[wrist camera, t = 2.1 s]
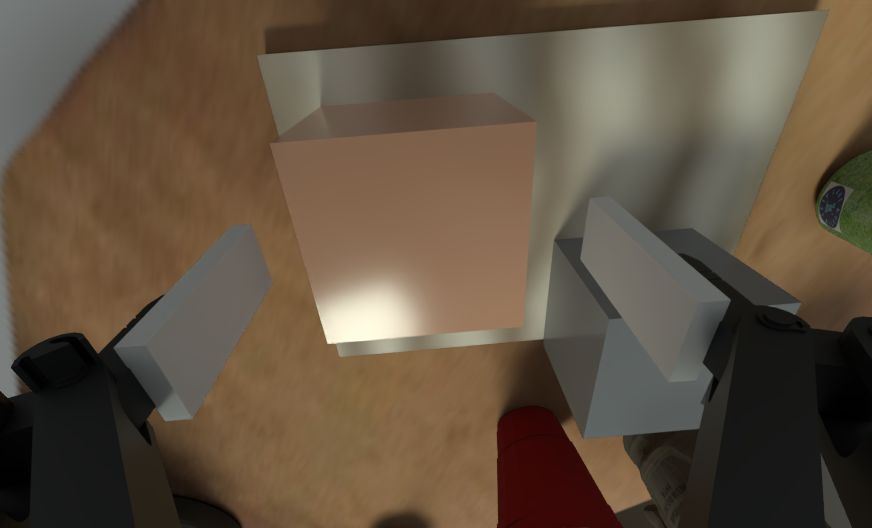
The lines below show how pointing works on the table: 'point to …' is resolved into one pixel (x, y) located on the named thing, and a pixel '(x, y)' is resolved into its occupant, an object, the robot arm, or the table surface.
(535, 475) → the plastic cup
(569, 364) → the gray cube
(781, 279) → the table surface
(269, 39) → the table surface
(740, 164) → the cream cloth mat
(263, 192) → the table surface
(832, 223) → the beverage can
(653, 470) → the beer stein
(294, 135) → the salmon pink cube
